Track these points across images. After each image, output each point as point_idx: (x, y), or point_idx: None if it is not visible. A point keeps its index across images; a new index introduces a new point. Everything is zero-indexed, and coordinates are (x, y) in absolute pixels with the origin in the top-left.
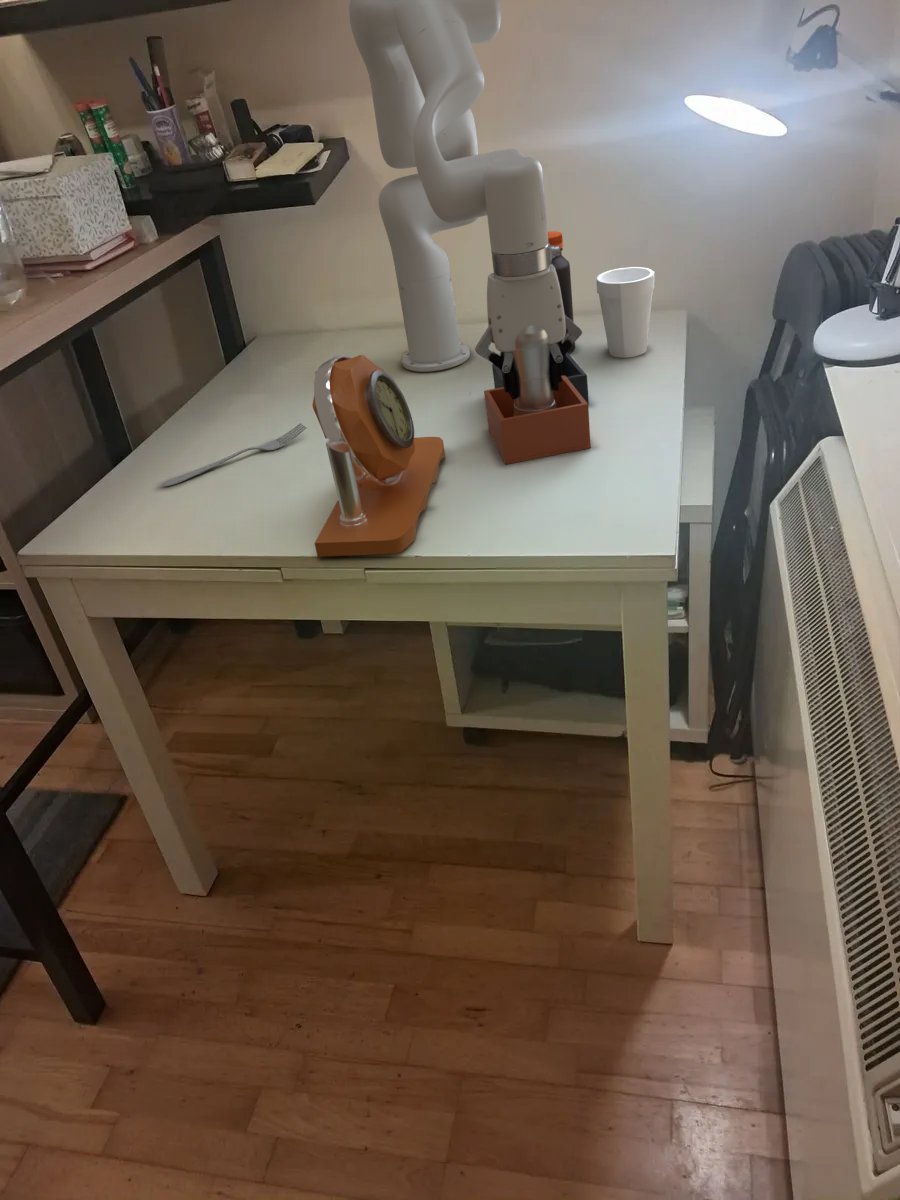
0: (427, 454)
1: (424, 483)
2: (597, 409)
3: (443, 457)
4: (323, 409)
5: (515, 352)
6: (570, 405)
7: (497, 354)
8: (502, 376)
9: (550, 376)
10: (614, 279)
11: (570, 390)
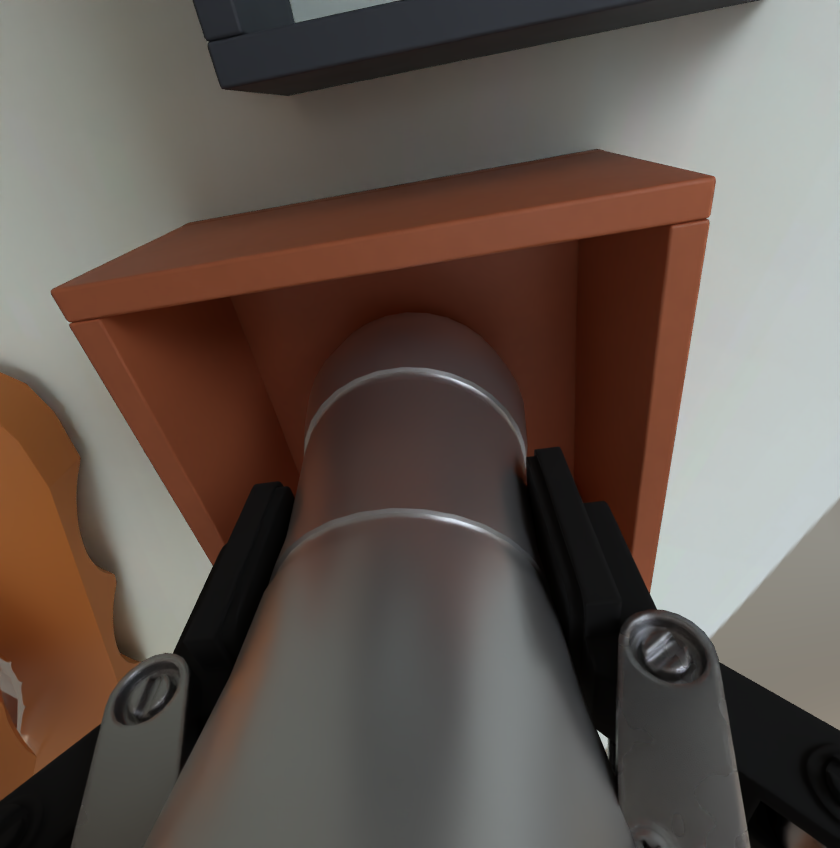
0: (14, 530)
1: (97, 659)
2: (782, 89)
3: (76, 488)
4: None
5: None
6: (606, 365)
7: (66, 837)
8: (193, 613)
9: (543, 560)
10: None
11: (639, 436)
